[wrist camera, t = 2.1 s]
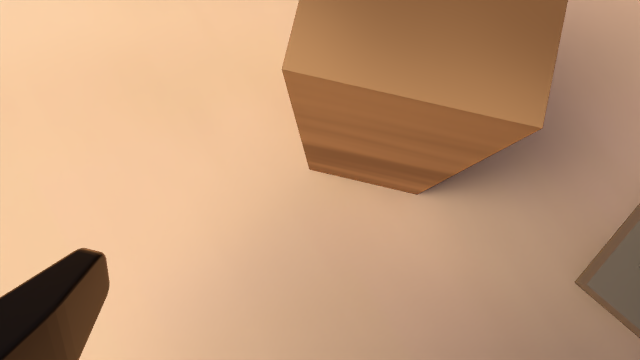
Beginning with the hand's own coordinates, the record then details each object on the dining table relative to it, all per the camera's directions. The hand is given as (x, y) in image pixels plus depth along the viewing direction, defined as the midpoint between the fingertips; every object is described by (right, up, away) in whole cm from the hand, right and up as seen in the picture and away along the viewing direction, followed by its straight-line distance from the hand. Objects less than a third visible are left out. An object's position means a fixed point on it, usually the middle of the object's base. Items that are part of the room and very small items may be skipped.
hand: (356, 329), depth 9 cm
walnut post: (+2, +5, +13) cm, 14 cm away
